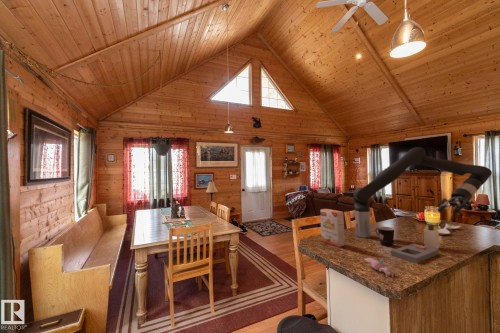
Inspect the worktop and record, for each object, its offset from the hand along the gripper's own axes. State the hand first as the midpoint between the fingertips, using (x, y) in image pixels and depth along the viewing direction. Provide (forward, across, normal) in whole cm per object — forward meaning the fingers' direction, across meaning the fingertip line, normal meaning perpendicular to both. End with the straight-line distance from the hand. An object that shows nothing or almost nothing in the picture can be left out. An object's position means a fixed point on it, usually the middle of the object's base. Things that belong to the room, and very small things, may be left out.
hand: (446, 211), depth 118 cm
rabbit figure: (+54, +8, -10) cm, 56 cm away
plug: (+12, -12, +16) cm, 24 cm away
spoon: (-22, -38, +36) cm, 56 cm away
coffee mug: (+28, -23, +3) cm, 36 cm away
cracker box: (+52, -31, -16) cm, 62 cm away
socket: (+28, -4, +6) cm, 29 cm away
